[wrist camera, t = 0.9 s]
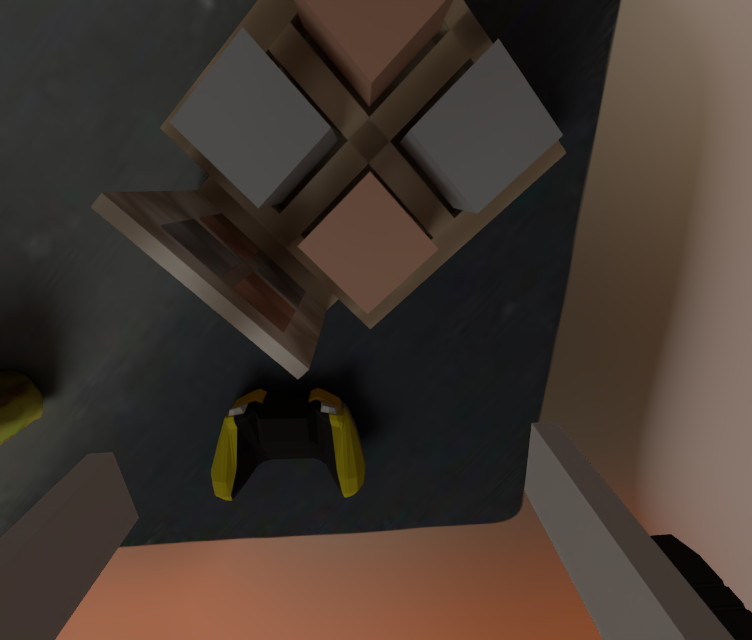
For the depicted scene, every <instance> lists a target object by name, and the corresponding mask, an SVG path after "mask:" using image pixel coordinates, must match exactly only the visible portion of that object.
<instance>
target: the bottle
mask: <svg viewBox="0 0 752 640" xmlns="http://www.w3.org/2000/svg"><path fill="white" fill-rule="evenodd" d="M42 412H43V400H42V395H41V392H40V390H39V389H38V388H37V387H36V386H35V385H34V384H33V383H32V382H31V380H30V379H29V378H28V377H27V376H25V375H24V374H21V373H19V372H17V371H15V370H11V369H1V370H0V445H1V444H2V443H3V442H5V441H6V440H8V439H9V438H11V437H12V436H14V435H15V434H17V433H18V432H19V431H21V430H22V429H23V428H24V427H26V426H27V425H28V424H30V423H31V422H32V421H33V420H35V419H38V418H40V417H41V416H42Z"/></svg>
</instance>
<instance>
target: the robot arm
mask: <svg viewBox="0 0 752 640" xmlns="http://www.w3.org/2000/svg"><path fill="white" fill-rule="evenodd" d="M524 491H525V493H526V494H527V496H528V498H529V500H530V502H531V504H532V506H533V508H534V510H535V512H536V513H537V515H538V517H539V519H540V521H541V523H542V525H543V527H544V529H545V530H546V532H547V534H548V536H549V538H550V540H551V542H552V544H553V546H554V548H555V549H556V551H557V553H558V555H559V557H560V559H561V561H562V563H563V565H564V567H565V569H566V570H567V572H568V574H569V576H570V578H571V580H572V582H573V584H574V585H575V588H576V589H577V591H578V593H579V595H580V597H581V599H582V601H583V603H584V605H585V607H586V608H587V610H588V612H589V614H590V616H591V618H592V620H593V622H594V623H595V626H596V628H597V629H598V631H599V633H600V635H601V637H602V639H603V640H752V612H751V611H749V610H747V609H745V607H744V604H743V603H742V601H741V600H740V599H739V598H738V597H737V596H736V595H735V594H734V593H733V592H732V590H731V589H730V588H729V587H726V586H725V585H724V583H723V581H722V579H720V577H719V576H718V575H717V574H716V573H715V572H714V571H713V570H712V569H711V567H710V566H709V565H708V564H707V563H706V562H705V561H704V560H703V559H702V558H701V556H700V555H698V554H697V553H696V552H694V551H693V550H692V549H690V548H689V547H688V546H686V545H685V544H684V543H682V542H681V541H679V540H678V539H677V538H675V537H674V536H673V535H671V534H668V535H654V536H650V535H649V534H648V533H647V532H646V531H645V529H644V528H643V527H642V526H641V525H640V524H639V522H638V521H637V520H636V518H635V517H634V516H633V515H632V514H631V512H630V511H629V510H628V509H627V507H626V506H625V505H624V504H623V502H622V501H621V500H620V499H619V498H618V496H617V495H616V494H615V493H614V492H613V490H612V489H611V488H610V487H609V485H608V484H607V483H606V482H605V480H604V479H603V478H602V477H601V476H600V474H599V473H598V472H597V471H596V470H595V468H594V467H593V466H592V465H591V463H590V462H589V461H588V460H587V458H586V457H585V456H584V455H583V454H582V452H581V451H580V450H579V449H578V447H577V446H576V445H575V444H574V443H573V441H572V440H571V439H570V438H569V436H568V435H567V434H566V433H565V432H564V430H563V429H562V428H561V427H560V426H559V424H558V423H557V422H556V421H554V422H540V423H532V426H531V435H530V444H529V454H528V463H527V472H526V481H525V490H524ZM138 518H139V517H138V515H137V512H136V510H135V507H134V505H133V502H132V500H131V497H130V495H129V492H128V490H127V487H126V485H125V482H124V480H123V477H122V475H121V472H120V469H119V467H118V464H117V462H116V459H115V457H114V454H113V452H109V453H94V454H87V455H86V456H85V457H84V458H83V459H82V460H81V461H80V462H79V463H78V464H77V465H76V466H75V467H74V468H73V469H72V470H71V471H70V472H69V473H68V474H67V475H66V476H64V477H63V478H62V479H61V480H60V481H59V482H58V483H57V484H56V485H55V486H54V487H53V488H52V489H51V490H50V491H49V492H48V493H47V494H46V495H45V496H44V497H43V498H42V499H40V500H39V501H38V502H37V503H36V504H35V505H34V506H33V507H32V508H31V509H30V510H29V511H28V512H27V513H26V514H25V515H24V516H23V517H22V518H21V519H20V520H19V521H18V522H16V523H15V524H14V525H13V526H12V527H11V528H10V529H9V530H8V531H7V532H6V533H5V534H4V535H3V536H2V537H1V538H0V640H55V639H56V637H57V636H58V634H59V633H60V631H61V630H62V629H63V627H64V626H65V624H66V622H67V621H68V620H69V618H70V617H71V615H72V614H73V613H74V611H75V610H76V608H77V607H78V605H79V604H80V602H81V601H82V599H83V598H84V597H85V595H86V594H87V592H88V591H89V589H90V588H91V586H92V585H93V583H94V582H95V581H96V579H97V578H98V576H99V575H100V573H101V572H102V570H103V569H104V568H105V566H106V565H107V563H108V562H109V560H110V559H111V557H112V556H113V554H114V553H115V551H116V550H117V549H118V547H119V546H120V544H121V543H122V541H123V540H124V538H125V537H126V536H127V534H128V533H129V531H130V530H131V528H132V527H133V525H134V524H135V522H136V521H137V520H138Z"/></svg>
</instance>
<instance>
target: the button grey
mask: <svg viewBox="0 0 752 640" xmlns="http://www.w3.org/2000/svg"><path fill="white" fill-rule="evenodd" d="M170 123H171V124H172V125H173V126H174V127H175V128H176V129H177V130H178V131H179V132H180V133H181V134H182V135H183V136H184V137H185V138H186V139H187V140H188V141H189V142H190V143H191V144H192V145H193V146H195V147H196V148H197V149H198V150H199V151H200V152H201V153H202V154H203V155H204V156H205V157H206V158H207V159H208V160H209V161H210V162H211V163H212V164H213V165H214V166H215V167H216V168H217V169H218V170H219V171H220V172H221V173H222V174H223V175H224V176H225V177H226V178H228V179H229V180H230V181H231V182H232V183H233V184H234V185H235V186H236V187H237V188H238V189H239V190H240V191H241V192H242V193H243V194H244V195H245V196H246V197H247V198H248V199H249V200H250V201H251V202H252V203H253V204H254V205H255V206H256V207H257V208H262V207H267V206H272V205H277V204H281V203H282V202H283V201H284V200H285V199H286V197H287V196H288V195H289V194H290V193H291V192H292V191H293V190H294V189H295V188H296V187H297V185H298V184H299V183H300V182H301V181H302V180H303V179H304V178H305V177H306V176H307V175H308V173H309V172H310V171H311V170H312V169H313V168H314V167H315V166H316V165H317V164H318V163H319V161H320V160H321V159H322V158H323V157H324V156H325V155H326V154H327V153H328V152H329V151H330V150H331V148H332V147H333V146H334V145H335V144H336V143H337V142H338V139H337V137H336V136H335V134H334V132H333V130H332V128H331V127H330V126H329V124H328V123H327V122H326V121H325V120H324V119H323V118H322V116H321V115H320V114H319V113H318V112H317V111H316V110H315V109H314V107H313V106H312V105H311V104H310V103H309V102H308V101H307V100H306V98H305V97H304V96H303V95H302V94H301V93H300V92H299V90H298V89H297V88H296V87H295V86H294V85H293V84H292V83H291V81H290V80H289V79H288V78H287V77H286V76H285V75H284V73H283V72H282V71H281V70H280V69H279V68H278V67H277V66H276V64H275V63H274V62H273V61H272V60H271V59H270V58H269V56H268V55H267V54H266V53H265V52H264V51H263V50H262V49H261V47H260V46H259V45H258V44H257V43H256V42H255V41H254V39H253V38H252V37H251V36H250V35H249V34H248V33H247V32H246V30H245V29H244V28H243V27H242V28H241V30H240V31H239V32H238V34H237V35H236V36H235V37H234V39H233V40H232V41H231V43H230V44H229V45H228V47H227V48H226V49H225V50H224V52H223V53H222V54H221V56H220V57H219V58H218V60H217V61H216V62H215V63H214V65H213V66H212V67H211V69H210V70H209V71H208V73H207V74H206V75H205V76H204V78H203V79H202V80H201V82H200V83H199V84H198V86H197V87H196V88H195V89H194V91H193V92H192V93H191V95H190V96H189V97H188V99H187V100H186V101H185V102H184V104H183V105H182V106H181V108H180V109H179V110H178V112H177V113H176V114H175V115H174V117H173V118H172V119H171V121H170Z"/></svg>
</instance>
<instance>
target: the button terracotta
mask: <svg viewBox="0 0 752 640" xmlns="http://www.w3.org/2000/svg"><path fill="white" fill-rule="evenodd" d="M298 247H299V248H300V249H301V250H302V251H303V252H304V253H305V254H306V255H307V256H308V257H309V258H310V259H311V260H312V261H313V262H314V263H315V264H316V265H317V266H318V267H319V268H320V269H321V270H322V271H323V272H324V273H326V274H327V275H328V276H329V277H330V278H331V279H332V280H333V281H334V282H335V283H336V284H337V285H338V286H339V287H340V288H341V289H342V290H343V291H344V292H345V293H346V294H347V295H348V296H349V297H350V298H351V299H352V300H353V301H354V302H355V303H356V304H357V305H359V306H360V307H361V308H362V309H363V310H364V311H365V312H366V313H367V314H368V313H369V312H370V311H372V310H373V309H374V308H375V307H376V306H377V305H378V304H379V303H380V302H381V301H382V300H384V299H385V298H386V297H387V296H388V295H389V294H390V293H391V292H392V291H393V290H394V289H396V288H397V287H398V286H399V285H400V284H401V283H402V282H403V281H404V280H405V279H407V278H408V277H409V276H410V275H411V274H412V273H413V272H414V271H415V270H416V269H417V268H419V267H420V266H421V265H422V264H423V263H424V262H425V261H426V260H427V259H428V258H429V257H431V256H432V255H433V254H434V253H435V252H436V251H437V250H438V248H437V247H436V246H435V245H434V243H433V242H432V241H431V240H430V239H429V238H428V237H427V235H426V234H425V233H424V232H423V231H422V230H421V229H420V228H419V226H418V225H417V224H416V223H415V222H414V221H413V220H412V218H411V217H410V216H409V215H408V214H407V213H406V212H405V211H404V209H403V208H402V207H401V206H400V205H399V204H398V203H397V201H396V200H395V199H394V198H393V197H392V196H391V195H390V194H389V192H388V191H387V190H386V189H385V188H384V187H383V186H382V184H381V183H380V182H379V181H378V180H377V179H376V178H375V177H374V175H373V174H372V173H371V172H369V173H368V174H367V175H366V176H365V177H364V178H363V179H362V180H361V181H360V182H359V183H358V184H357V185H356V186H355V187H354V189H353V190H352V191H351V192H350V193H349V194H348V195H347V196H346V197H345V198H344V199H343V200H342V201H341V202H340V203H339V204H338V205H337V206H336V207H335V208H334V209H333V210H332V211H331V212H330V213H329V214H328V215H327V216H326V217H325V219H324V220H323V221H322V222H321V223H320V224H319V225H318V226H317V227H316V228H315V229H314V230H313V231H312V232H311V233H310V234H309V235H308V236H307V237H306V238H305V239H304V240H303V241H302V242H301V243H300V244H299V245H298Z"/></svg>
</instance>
